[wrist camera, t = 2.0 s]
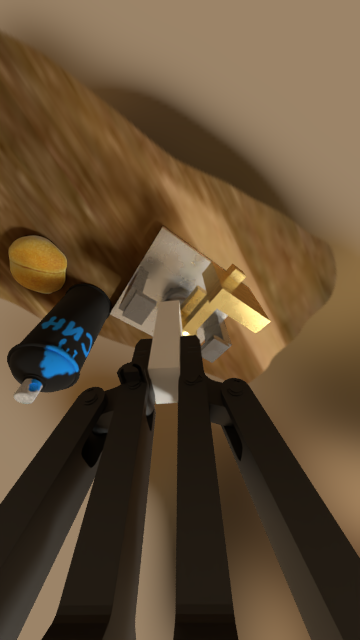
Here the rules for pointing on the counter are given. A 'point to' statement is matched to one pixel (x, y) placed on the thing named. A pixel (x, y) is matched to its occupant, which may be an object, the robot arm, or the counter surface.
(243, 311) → the gold branched bar piece
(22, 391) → the aerosol can
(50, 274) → the bread roll
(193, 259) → the socket base
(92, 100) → the counter surface
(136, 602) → the robot arm
